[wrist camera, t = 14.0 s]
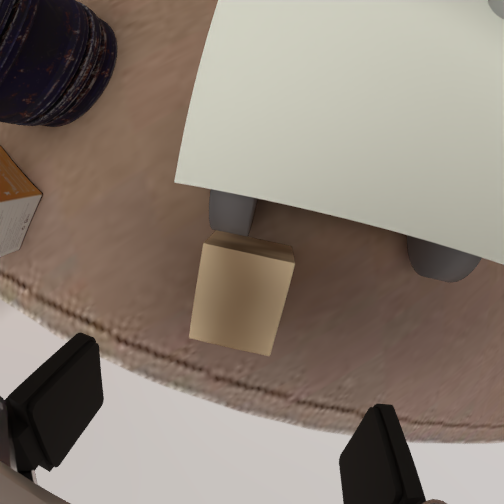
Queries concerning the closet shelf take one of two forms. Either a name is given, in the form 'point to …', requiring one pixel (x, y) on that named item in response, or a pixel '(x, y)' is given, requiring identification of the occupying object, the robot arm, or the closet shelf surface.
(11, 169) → the small box
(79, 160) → the closet shelf surface
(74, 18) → the dark blue cylinder
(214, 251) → the block
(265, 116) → the trolley
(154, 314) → the closet shelf surface
